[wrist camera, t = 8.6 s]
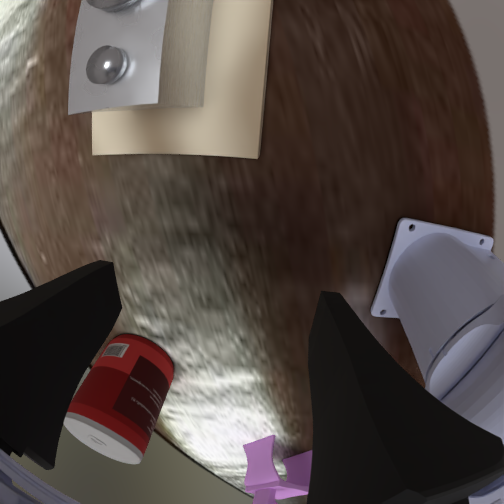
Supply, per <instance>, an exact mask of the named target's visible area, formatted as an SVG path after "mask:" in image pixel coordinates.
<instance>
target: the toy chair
mask: <svg viewBox="0 0 504 504" xmlns="http://www.w3.org/2000/svg"><path fill="white" fill-rule="evenodd" d="M274 440H275V435H271V436H268V437H265V438H263V439H260V440H257V441H254V442H251V443H248V444H245V445H243V447H244V450H245V453H246V456H247V461H248V468H247V473H246V477H245V481H244V482H245V485H246V490H245V492H249V493H253V494H255V496H254V500H253V503H252V504H277V503H276V502H275V499H285V498H289V497H293V496H298V495H306V494H308V491H309V483H310V473H311V463H312V450H311V451H308V452H305V453H302V454H299V455H296V456H293V457H289V458H286V459H283V460H282V461H283V463H284V465H285V468H286V470H287V480H286V481H284V480H282V479H281V478H280V477H279V475H278V473H277V471H276V469H275V466H274V463H273V458H272V455H273V446H274Z"/></svg>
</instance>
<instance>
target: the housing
mask: <svg viewBox="0 0 504 504" xmlns="http://www.w3.org/2000/svg"><path fill="white" fill-rule="evenodd" d="M212 8H213V0H82V2H81V6H80V11H79V16H78V21H77V26H76V32H75V38H74V45H73V52H72V60H71V70H70V83H69V102H68V115H72V114H81V113H92V112H107V111H129V110H144V109H159V108H185V107H203V106H204V91H205V77H206V65H207V54H208V43H209V34H210V25H211V16H212Z"/></svg>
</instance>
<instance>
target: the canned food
mask: <svg viewBox="0 0 504 504" xmlns="http://www.w3.org/2000/svg"><path fill="white" fill-rule="evenodd" d="M173 372H174V367H173V364H172V361H171V359H170V358H169V356H168V355H167V354H166V353H165V352H164V351H163V350H162V349H161V348H160V347H159V346H157V345H156V344H155V343H153V342H151V341H149V340H147V339H145V338H143V337H140V336H136V335H131V334H123V335H119V336H117V337H116V338H114V339H113V340H111V341H110V342H109V343H108V345H107V346H106V348H105V349H104V351H103V352H102V354H101V355H100V357H99V358H98V360H97V361H96V363H95V364H94V366H93V367H92V369H91V371H90V372H89V374H88V375H87V377H86V379H85V380H84V382H83V383H82V385H81V386H80V388H79V390H78V391H77V393H76V395H75V396H74V398H73V400H72V401H71V403H70V405H69V408H68V411H67V414H66V417H65V419H64V423H63V424H64V425H65V427H66V428H67V429H68V430H69V431H70V432H71V433H72V434H73V435H74V436H75V437H76V438H77V439H79V440H80V441H81V442H83V443H84V444H86V445H87V446H89V447H90V448H92V449H94V450H95V451H97V452H99V453H101V454H103V455H105V456H107V457H110V458H112V459H115V460H117V461H120V462H124V463H129V464H139V463H140V461H141V460H142V458H143V456H144V453H145V450H146V448H147V446H148V443H149V440H150V437H151V435H152V432H153V430H154V427H155V424H156V422H157V419H158V416H159V414H160V411H161V408H162V406H163V403H164V401H165V398H166V395H167V393H168V390H169V388H170V385H171V383H172V380H173Z"/></svg>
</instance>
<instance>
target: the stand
mask: <svg viewBox="0 0 504 504" xmlns="http://www.w3.org/2000/svg"><path fill="white" fill-rule="evenodd" d="M272 9H273V0H213V8H212V16H211V25H210V34H209V43H208V54H207V65H206V77H205V91H204V106H203V107H185V108H159V109H144V110H129V111H107V112H92V153H93V155H108V154H191V155H212V156H228V157H242V158H253V159H258V158H259V156H260V148H261V137H262V125H263V113H264V102H265V90H266V79H267V67H268V55H269V44H270V32H271V21H272Z"/></svg>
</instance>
